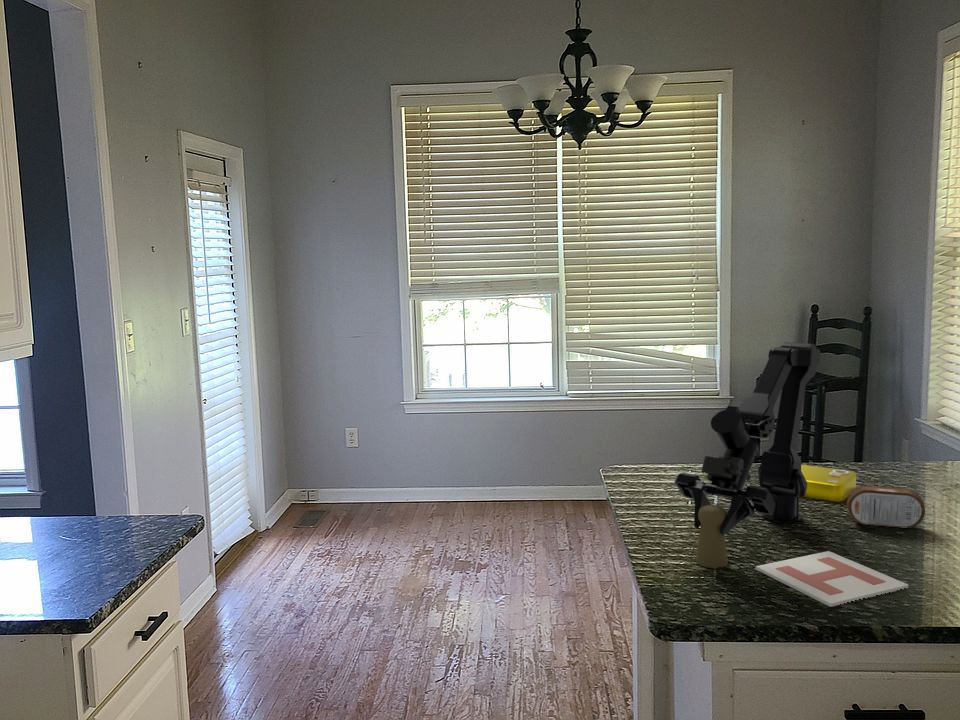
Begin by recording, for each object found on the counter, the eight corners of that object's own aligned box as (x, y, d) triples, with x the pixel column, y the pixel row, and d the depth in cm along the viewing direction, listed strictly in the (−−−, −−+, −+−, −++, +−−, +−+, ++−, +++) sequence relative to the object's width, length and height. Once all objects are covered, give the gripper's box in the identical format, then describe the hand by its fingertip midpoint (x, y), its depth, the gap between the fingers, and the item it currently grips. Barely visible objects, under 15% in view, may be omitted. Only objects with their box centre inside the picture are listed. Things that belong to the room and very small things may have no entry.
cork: (729, 568, 154) (730, 512, 153) (696, 567, 155) (696, 510, 154) (726, 557, 160) (727, 502, 159) (694, 555, 161) (695, 501, 160)
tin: (922, 527, 175) (924, 488, 174) (925, 532, 172) (927, 493, 171) (845, 520, 180) (847, 483, 179) (846, 525, 177) (848, 487, 176)
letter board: (828, 553, 161) (828, 550, 161) (908, 587, 144) (908, 584, 144) (755, 569, 154) (755, 565, 154) (830, 606, 137) (830, 602, 137)
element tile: (795, 479, 213) (796, 461, 213) (857, 488, 204) (858, 470, 203) (776, 493, 202) (777, 474, 201) (841, 504, 192) (842, 484, 192)
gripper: (679, 432, 164) (649, 499, 157) (770, 446, 151) (742, 519, 145) (698, 463, 171) (670, 528, 164) (787, 479, 158) (760, 550, 151)
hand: (708, 530), depth 156 cm, fingers closed on cork, 5 cm apart
